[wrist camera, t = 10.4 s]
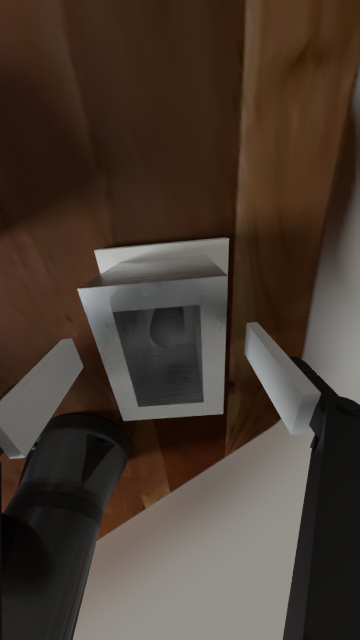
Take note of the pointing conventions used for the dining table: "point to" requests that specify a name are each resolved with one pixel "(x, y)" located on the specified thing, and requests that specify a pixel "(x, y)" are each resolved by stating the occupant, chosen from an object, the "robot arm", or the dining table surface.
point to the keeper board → (168, 252)
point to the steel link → (153, 361)
